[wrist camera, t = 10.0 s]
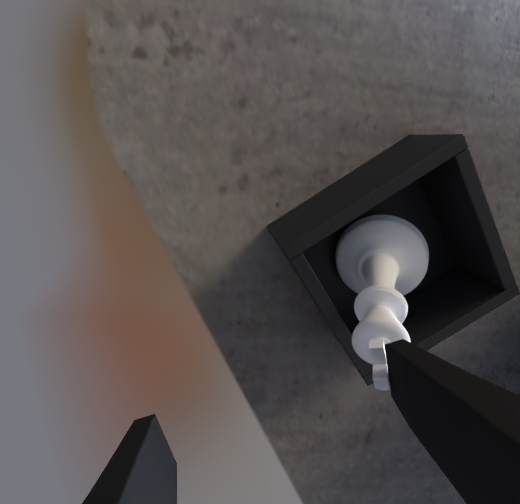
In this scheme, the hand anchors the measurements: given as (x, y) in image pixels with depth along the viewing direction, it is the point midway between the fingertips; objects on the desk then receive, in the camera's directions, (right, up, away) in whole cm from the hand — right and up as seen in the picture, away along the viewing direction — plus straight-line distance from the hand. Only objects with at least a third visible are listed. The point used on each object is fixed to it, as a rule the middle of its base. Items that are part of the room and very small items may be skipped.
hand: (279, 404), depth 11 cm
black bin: (+6, +5, +10) cm, 13 cm away
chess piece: (+6, +4, +9) cm, 12 cm away
